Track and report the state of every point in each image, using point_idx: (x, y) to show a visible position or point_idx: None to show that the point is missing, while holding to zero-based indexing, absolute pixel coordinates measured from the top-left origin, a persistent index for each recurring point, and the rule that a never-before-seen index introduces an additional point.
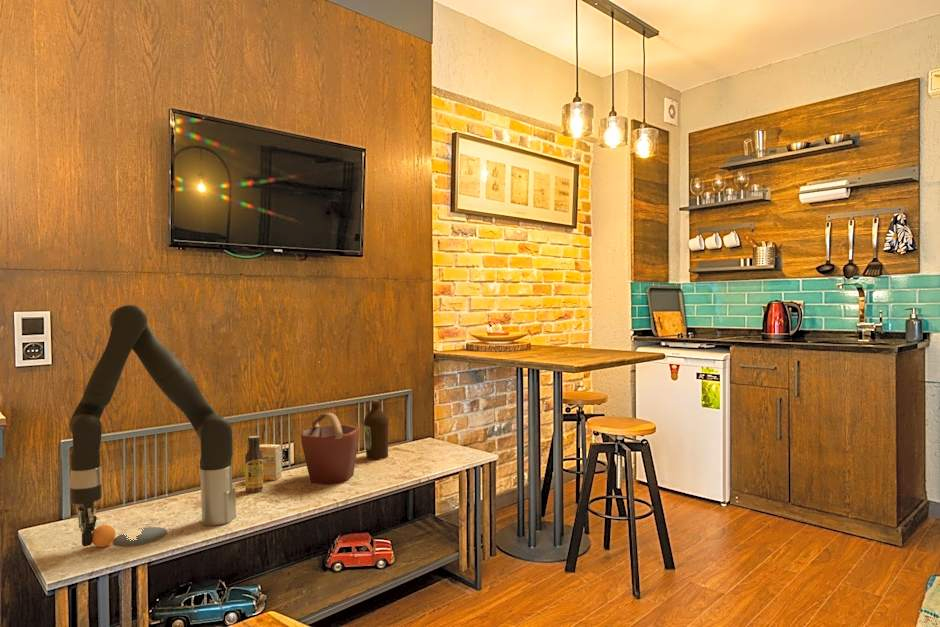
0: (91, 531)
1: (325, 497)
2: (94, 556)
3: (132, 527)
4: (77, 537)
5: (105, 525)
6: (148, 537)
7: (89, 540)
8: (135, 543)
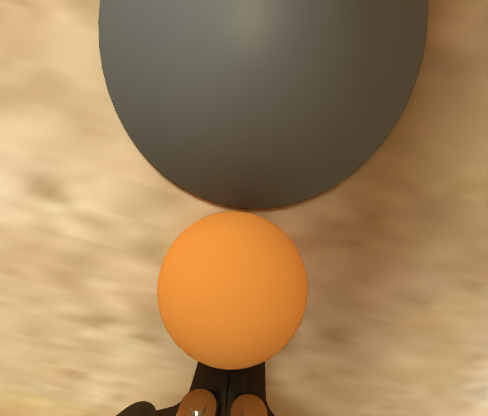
0: (258, 404)
1: None
2: (345, 317)
3: (31, 35)
4: (15, 291)
5: (235, 321)
6: (333, 18)
7: (264, 361)
8: (367, 123)
